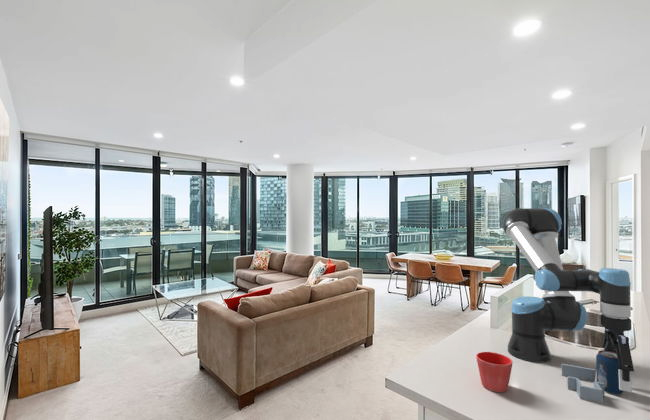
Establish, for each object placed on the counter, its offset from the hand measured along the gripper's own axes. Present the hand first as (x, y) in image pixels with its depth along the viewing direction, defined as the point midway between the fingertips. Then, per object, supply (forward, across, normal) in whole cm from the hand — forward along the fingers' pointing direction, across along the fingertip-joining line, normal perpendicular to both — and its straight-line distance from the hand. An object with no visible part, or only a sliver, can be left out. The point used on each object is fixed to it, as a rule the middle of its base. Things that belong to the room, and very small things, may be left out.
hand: (617, 380), depth 105 cm
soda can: (+4, +1, +2) cm, 4 cm away
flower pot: (+4, -15, +36) cm, 39 cm away
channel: (+4, -2, +9) cm, 10 cm away
